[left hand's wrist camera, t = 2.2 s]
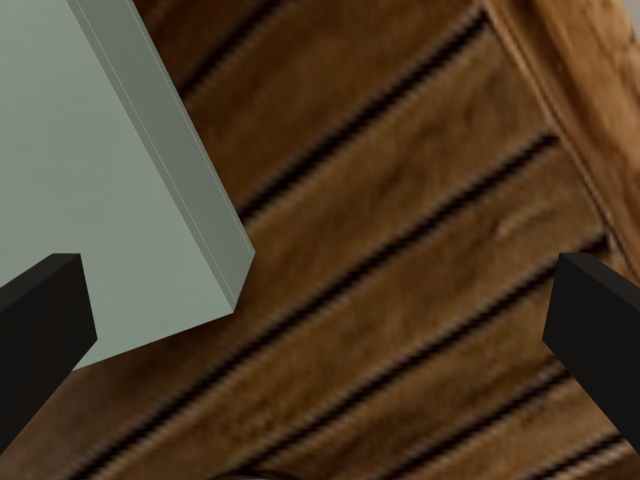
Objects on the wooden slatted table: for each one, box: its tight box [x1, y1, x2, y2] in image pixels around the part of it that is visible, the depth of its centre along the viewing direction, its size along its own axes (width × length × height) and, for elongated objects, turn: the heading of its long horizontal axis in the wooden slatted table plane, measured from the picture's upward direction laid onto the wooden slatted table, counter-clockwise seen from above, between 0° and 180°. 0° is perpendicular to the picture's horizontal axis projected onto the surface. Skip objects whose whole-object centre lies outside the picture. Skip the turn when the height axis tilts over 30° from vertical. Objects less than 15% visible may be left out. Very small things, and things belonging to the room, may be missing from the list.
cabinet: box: [0, 0, 255, 371], centre depth 25 cm, size 22×11×9 cm, turn 22°
